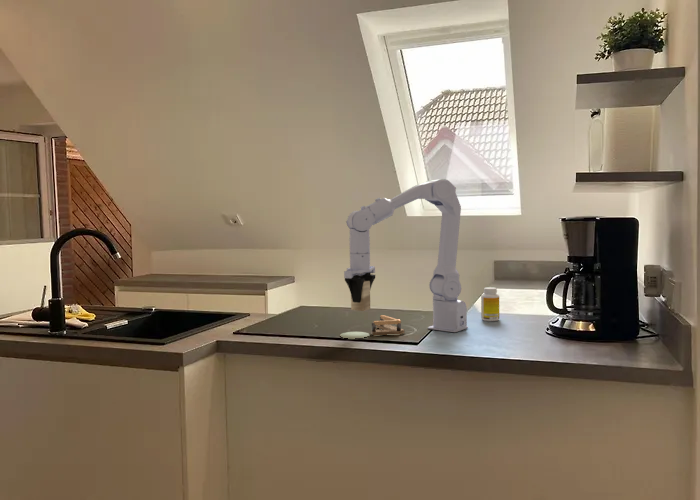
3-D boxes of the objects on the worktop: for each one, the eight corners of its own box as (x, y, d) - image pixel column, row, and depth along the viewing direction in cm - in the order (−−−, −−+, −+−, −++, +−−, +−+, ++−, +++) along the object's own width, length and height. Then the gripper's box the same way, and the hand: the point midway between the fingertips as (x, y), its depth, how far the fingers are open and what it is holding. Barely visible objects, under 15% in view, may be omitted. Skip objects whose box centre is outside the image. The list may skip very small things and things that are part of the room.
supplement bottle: (502, 321, 183) (502, 288, 182) (486, 322, 182) (486, 289, 181) (494, 317, 188) (494, 286, 187) (478, 319, 187) (478, 287, 186)
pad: (375, 335, 167) (375, 334, 167) (356, 340, 161) (356, 339, 160) (352, 331, 172) (352, 330, 172) (333, 336, 166) (333, 335, 166)
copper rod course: (413, 331, 171) (413, 317, 170) (389, 339, 162) (389, 324, 161) (382, 326, 178) (381, 313, 178) (357, 333, 169) (356, 319, 169)
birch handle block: (370, 308, 167) (369, 280, 166) (363, 310, 163) (363, 282, 163) (358, 307, 169) (357, 280, 168) (351, 309, 165) (350, 281, 165)
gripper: (359, 250, 173) (360, 296, 174) (334, 254, 161) (335, 303, 162) (381, 251, 170) (381, 297, 171) (356, 255, 157) (357, 305, 158)
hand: (360, 300), depth 166 cm, fingers closed on birch handle block, 4 cm apart
